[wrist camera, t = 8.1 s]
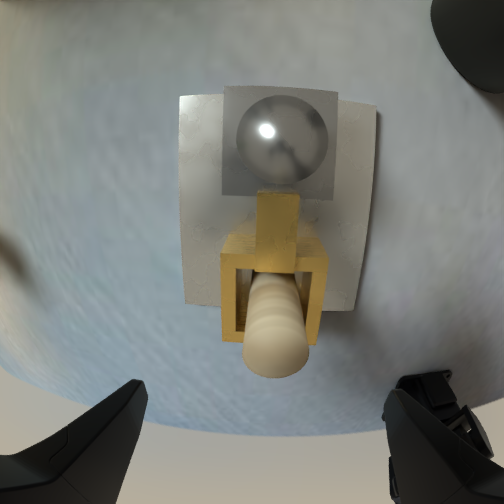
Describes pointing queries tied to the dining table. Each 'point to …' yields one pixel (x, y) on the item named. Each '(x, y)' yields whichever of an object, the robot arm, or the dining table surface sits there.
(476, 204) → the dining table surface
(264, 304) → the pin
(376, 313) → the dining table surface
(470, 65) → the mug
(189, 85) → the dining table surface
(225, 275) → the chrome knob plate
